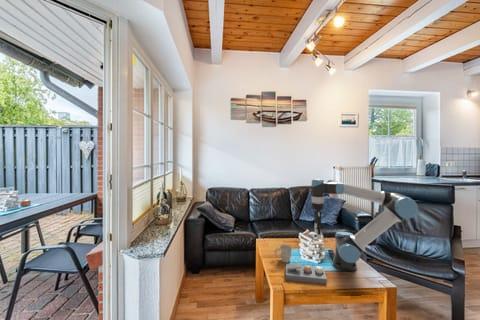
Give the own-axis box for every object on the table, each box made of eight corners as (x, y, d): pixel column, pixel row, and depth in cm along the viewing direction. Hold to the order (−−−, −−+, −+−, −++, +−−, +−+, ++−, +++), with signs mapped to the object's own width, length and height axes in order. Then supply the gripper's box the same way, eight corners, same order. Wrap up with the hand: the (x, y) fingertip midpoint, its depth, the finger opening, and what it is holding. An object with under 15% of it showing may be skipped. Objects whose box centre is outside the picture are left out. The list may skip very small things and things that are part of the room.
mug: (291, 263, 162) (291, 249, 161) (274, 262, 164) (274, 248, 164) (291, 258, 170) (291, 245, 170) (274, 257, 172) (274, 243, 172)
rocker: (301, 264, 148) (300, 262, 148) (301, 268, 143) (300, 266, 143) (288, 266, 150) (288, 264, 150) (288, 269, 145) (288, 268, 145)
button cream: (322, 271, 145) (322, 266, 145) (323, 274, 141) (323, 269, 141) (315, 270, 146) (315, 265, 146) (316, 274, 142) (316, 269, 142)
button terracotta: (310, 270, 147) (310, 265, 146) (311, 273, 142) (311, 268, 142) (304, 269, 147) (304, 264, 147) (304, 273, 143) (304, 268, 143)
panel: (323, 272, 150) (323, 265, 149) (326, 284, 136) (326, 276, 136) (286, 268, 155) (286, 262, 155) (285, 279, 141) (285, 272, 141)
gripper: (310, 199, 161) (310, 229, 162) (313, 206, 139) (313, 242, 139) (321, 199, 160) (321, 230, 160) (326, 206, 137) (326, 243, 138)
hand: (317, 235), depth 150 cm, fingers open, 11 cm apart
